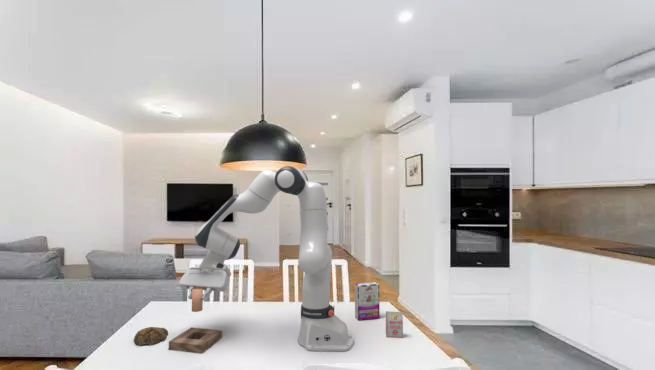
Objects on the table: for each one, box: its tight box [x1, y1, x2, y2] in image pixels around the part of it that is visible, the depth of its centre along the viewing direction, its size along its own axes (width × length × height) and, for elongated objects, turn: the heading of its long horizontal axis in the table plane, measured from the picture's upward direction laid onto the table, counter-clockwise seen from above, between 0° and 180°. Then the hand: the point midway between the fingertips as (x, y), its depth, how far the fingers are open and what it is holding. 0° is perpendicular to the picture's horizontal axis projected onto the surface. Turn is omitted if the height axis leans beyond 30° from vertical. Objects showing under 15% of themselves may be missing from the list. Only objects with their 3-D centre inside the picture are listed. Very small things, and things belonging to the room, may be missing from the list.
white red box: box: [385, 310, 404, 339], centre depth 140 cm, size 4×7×10 cm, turn 86°
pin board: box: [168, 326, 223, 354], centre depth 131 cm, size 14×14×3 cm
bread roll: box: [133, 326, 169, 347], centre depth 135 cm, size 13×12×5 cm
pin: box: [191, 288, 204, 313], centre depth 132 cm, size 4×4×8 cm
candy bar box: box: [354, 281, 381, 322], centre depth 161 cm, size 11×5×16 cm, turn 106°
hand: (196, 298), depth 131 cm, fingers closed on pin, 4 cm apart
